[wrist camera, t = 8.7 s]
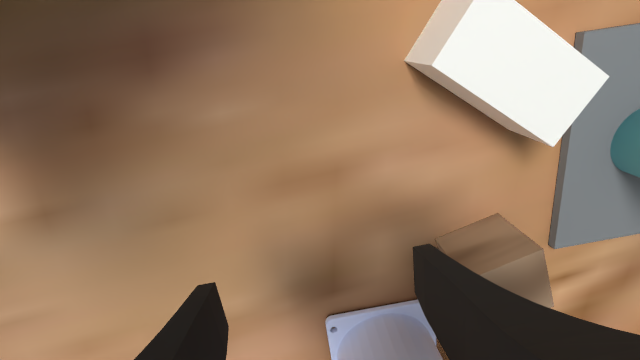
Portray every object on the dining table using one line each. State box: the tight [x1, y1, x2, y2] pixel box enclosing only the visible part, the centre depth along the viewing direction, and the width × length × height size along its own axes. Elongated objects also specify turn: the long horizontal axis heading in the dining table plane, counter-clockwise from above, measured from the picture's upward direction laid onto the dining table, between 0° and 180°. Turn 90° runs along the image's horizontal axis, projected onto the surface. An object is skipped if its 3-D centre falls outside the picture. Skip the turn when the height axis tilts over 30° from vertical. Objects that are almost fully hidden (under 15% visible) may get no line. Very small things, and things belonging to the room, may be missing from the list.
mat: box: [548, 23, 640, 249], centre depth 22 cm, size 14×10×1 cm
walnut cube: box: [435, 213, 554, 308], centre depth 23 cm, size 4×4×4 cm
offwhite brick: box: [404, 0, 610, 147], centre depth 18 cm, size 8×4×4 cm, turn 60°
